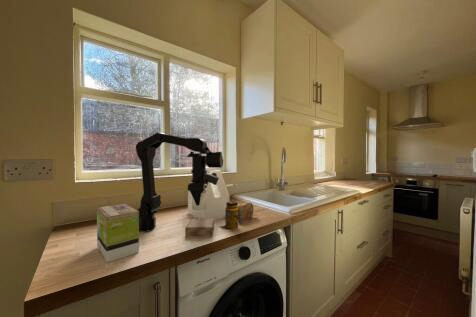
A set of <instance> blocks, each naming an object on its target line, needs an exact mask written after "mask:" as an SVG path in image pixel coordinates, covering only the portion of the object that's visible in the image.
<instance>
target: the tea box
mask: <svg viewBox="0 0 476 317" xmlns="http://www.w3.org/2000/svg"><path fill="white" fill-rule="evenodd" d="M137 210H138V209H136V208H133V206H130V205H128V204H127V203H120V204H114V205H106V206H100V207H96V235H97V236H96V237H97V238H96V241H97V243H96V244H97V248H98V249H99V252H100V253H101V255H102V257H103V258H104V259H105V261H106V263H109V262H114V261H115V260H116V261H117V260H120V259H123V258H125V257H130V256H132V255H135V254H138V253H139V252H140V231H139V211H137Z"/></svg>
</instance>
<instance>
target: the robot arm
mask: <svg viewBox="0 0 476 317" xmlns="http://www.w3.org/2000/svg"><path fill="white" fill-rule="evenodd" d="M163 143H166V144H170V145H175V146H182V147H184V148H186V149H188V150H191V151H190V153H188V154H187V158H191V159H192V160H191V163H192V164H191V171H190V172H191V177H192V178H191V180H190V183H188V185H187V191H188V192H189V191H190V192H191V194H192V196H193V199H194V201H195V203H196V205H199V204H200V198H201V193H202V192H203V191H204V190H205V188H206V187H207V185H208V182H210V183H212V184H214V185H216V184H217V182H218V179H219V177H217V174H216V173H213V174H209V173H208V169H207V167H208V168H211V169H215V168H216V169H218V168H219V169H220V168H221V169H222V168H223V167H224V158H223V157H224V156H223V152H222V151H214V152H212V151H211V150H210V148H209V147H208V143H207V141H206V140H205V139H203V138H198V137H181V136H175V135H171V134H167V133H164V132H160V131H159V132H158V131H157V132H155V133H154V134H153V135H150V136H149V137H146V138H144V139H143V140H140V141H139V142H137V143H136V145H135V152H136V155H137V157H138V159H139V161H140V164H141V176H142V177H141V178H142V188H143V190H142V191H143V194H142V197H141V198H140V207H139V208H138V209H136V210H137V211H139V232H151V231H152V230H154V228H156V227H157V220H156V219H157V217H156V215H155V214H156V213H157V212H158V210H159V208H160V207H161V204H162V201H161V200H162V199H161V195H160V194H157V192H156V185H155V184H156V182H155V172H154V171H155V170H154V159H155V156H156V150H157V149H158V148H160V147H161V145H162V144H163ZM196 152H197V153H196ZM205 184H206V185H205Z"/></svg>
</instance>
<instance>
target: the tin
mask: <svg viewBox="0 0 476 317" xmlns="http://www.w3.org/2000/svg"><path fill="white" fill-rule="evenodd" d="M253 216H254V204H253V203H252V202H244V203H243V204H239V205H238V223H245V222H247V221H248V220H250V219H251V218H252V217H253Z"/></svg>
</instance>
